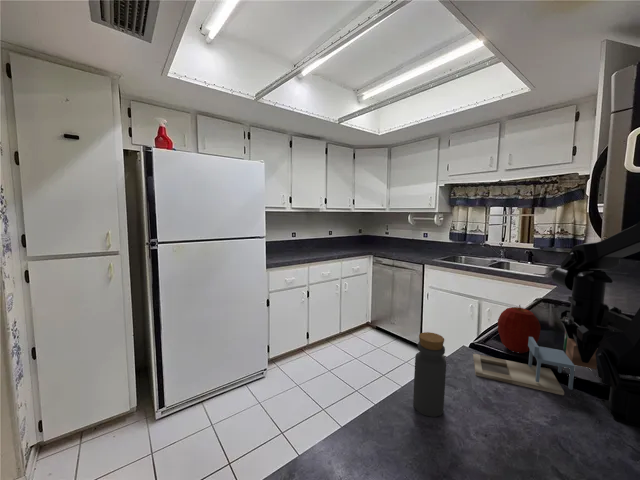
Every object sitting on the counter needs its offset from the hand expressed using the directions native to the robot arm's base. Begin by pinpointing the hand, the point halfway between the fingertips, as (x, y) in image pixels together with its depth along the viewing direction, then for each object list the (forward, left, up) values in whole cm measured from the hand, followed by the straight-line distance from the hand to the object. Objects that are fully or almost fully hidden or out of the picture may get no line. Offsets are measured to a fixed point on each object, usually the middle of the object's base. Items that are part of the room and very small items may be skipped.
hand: (580, 357), depth 70 cm
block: (0, 0, -1) cm, 1 cm away
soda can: (+13, -3, -4) cm, 14 cm away
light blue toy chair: (-8, +8, -3) cm, 12 cm away
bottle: (-30, +33, -4) cm, 45 cm away
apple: (+7, +12, -4) cm, 14 cm away
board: (-8, +15, -4) cm, 17 cm away
